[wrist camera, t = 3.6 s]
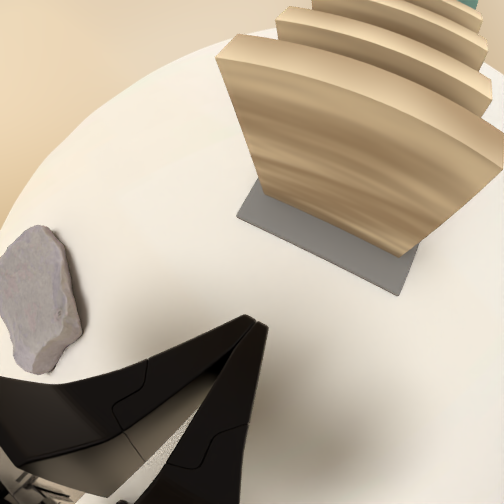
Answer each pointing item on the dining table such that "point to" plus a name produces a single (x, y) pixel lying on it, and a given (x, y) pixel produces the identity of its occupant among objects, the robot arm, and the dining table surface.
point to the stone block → (38, 300)
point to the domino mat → (326, 240)
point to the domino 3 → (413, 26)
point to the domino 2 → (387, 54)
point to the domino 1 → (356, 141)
